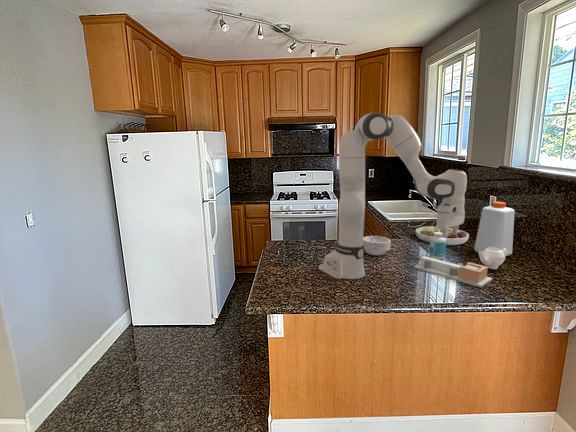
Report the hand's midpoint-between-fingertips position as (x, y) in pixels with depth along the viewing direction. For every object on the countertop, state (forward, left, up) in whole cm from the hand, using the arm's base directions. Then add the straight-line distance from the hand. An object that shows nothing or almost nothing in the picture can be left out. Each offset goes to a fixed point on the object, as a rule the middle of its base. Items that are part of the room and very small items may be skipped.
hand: (449, 235), depth 155 cm
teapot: (+12, +23, -18) cm, 31 cm away
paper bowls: (-38, -1, -18) cm, 42 cm away
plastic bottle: (+4, +47, -18) cm, 51 cm away
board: (+3, 0, -18) cm, 18 cm away
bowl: (-27, +52, -18) cm, 62 cm away
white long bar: (+1, 0, -16) cm, 17 cm away
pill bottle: (-12, +16, -18) cm, 27 cm away
